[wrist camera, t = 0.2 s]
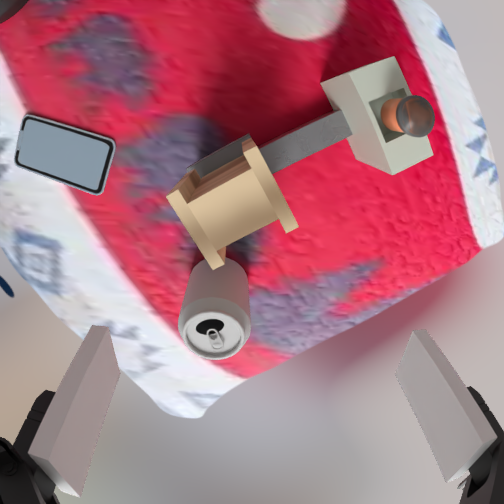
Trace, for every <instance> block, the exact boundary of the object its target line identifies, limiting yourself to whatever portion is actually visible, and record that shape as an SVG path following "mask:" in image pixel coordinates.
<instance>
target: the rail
mask: <svg viewBox="0 0 504 504" xmlns="http://www.w3.org/2000/svg"><path fill="white" fill-rule="evenodd" d="M351 135H353V134H352V131H351V129H350V127H349V125H348V123H347V120H346V118H345V116H344V114H343V112H342V110H332V111H330V112H328V113H326V114H324V115H321V116H319V117H317V118H315V119H313V120H311V121H308V122H306V123H304V124H302V125H300V126H298V127H296V128H294V129H292V130H290V131H288V132H285V133H283V134H281V135H279V136H277V137H275V138H273V139H271V140H269V141H267V142H265V143H263V144H261V145H260V146H258V149H259V151H260V153H261V155H262V157H263V159H264V160H265V162H266V164H267V166H268V168H269V170H270V172H271V174H273V173H275V172H277V171H279V170H281V169H283V168H285V167H287V166H289V165H291V164H293V163H295V162H297V161H299V160H301V159H303V158H305V157H307V156H309V155H311V154H313V153H315V152H317V151H319V150H322V149H324V148H326V147H328V146H330V145H332V144H334V143H336V142H338V141H340V140H343V139H345V138H347V137H349V136H351Z"/></svg>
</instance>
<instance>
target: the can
mask: <svg viewBox="0 0 504 504" xmlns="http://www.w3.org/2000/svg"><path fill="white" fill-rule="evenodd" d="M178 329H179V332H180V335H181V337H182V338H183V341H184V343H185V345H186V346H187V347H188V349H189V350H190V351H191V352H193V353H194V354H196V355H197V356H200V357H203V358H205V359H212V360H219V359H225V358H228V357H231V356H233V355H234V354H236V353H237V352H238V351H240V349H241V348H242V346H243V345H244V344H245V342H246V341H247V339H248V338H249V335H250V331H251V319H250V303H249V287H248V279H247V274H246V273H245V271H244V269H243V268H242V267H241V266H240V265H239V264H238V263H237V262H236V261H234V260H231V259H229V258H227V257H225V264H224V265H222V266H220V267H218V268H216V269H214V270H212V268H211V266H210V265H209V263H208V262H207V260H206V259H204V260H202V261H200V262H199V263H198V264H197V265H196V266H195V267H194V268H193V270H192V272H191V274H190V277H189V281H188V284H187V288H186V292H185V296H184V299H183V303H182V307H181V311H180V315H179V319H178Z"/></svg>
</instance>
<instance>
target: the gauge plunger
mask: <svg viewBox="0 0 504 504" xmlns="http://www.w3.org/2000/svg"><path fill="white" fill-rule="evenodd" d="M381 119H382V122H383V124H384V125H385V126H386V127H387V128H388V129H390V130H392V131H397V132H403V133H405V134H407V135H409V136H412V137H418V138H419V137H424V136H426V135H428V134H429V133H430V132H431V130H432V128H433V126H434V121H435V116H434V111H433V108H432V106H431V105H430V103H429V102H428V101H427V100H426V99H424V98H423V97H421V96H417V95H412V96H406V97H404V98H396V99H389V100H387V101H386V102H385V103H384V104H383V105H382V108H381Z"/></svg>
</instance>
